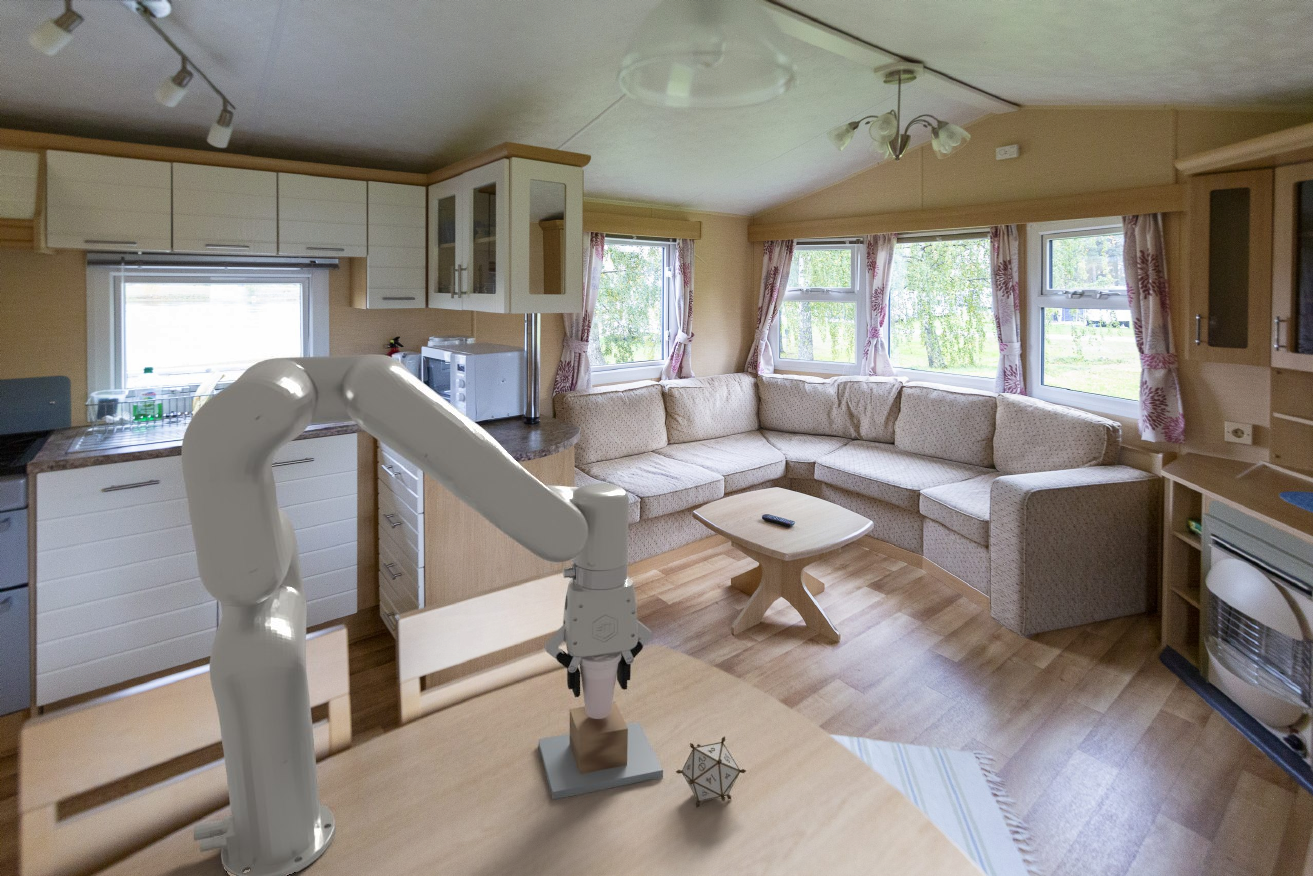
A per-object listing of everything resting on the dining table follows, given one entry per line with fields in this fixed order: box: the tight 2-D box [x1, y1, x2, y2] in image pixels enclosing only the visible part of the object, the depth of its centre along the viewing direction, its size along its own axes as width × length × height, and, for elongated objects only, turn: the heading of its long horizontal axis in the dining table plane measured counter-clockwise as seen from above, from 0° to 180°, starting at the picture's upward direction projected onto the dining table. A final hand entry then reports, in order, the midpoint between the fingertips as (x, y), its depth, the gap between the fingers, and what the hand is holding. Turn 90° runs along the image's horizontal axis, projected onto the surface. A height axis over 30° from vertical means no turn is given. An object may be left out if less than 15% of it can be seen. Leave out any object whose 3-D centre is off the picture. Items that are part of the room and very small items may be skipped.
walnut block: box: [569, 700, 628, 774], centre depth 106 cm, size 7×7×6 cm
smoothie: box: [579, 652, 621, 719], centre depth 104 cm, size 6×6×14 cm
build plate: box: [538, 721, 664, 800], centre depth 107 cm, size 16×12×1 cm
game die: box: [675, 735, 747, 808], centre depth 100 cm, size 9×8×10 cm
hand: (598, 687), depth 104 cm, fingers closed on smoothie, 6 cm apart
